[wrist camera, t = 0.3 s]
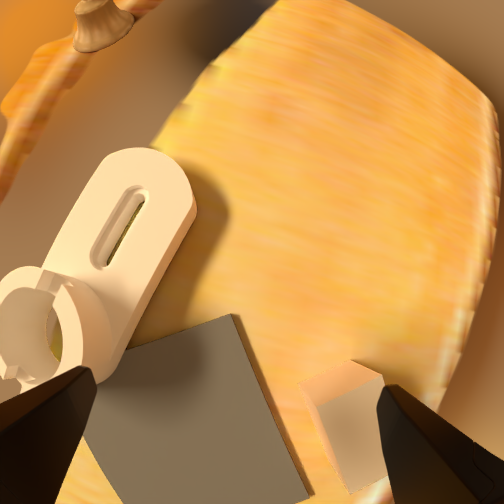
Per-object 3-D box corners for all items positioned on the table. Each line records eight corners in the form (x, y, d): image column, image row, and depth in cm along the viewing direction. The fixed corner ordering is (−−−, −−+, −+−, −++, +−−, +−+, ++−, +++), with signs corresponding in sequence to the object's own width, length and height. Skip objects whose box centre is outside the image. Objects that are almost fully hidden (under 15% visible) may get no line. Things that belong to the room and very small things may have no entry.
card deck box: (374, 436, 22) (406, 464, 16) (327, 459, 21) (350, 494, 15) (349, 359, 23) (381, 374, 17) (297, 382, 22) (316, 407, 16)
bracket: (99, 406, 20) (57, 430, 14) (25, 346, 21) (-25, 349, 14) (213, 187, 24) (204, 143, 18) (129, 148, 25) (101, 104, 18)
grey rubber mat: (308, 494, 20) (309, 498, 20) (147, 531, 19) (146, 534, 18) (230, 313, 23) (230, 313, 22) (58, 371, 21) (55, 372, 21)
